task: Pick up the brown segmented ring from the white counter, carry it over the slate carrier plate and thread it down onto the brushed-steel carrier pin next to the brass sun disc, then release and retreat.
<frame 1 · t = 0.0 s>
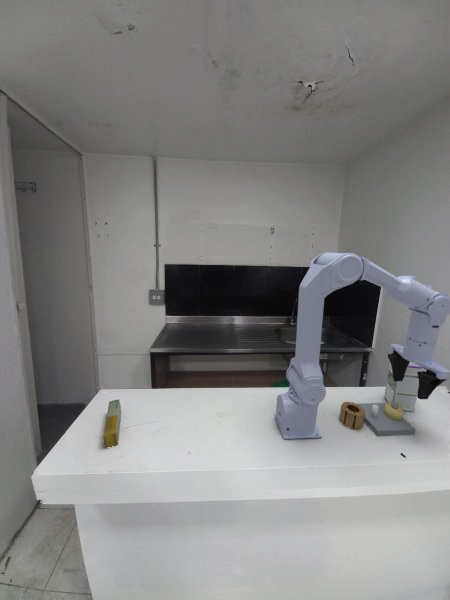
hand: (409, 388, 60), 10 cm above the countertop, fingers open, 7 cm apart
medication box: (114, 429, 57), on the countertop
syrup box: (397, 405, 69), on the countertop, touching gripper
carrier plate: (381, 420, 62), on the countertop
brown segmented ring: (350, 421, 62), on the countertop
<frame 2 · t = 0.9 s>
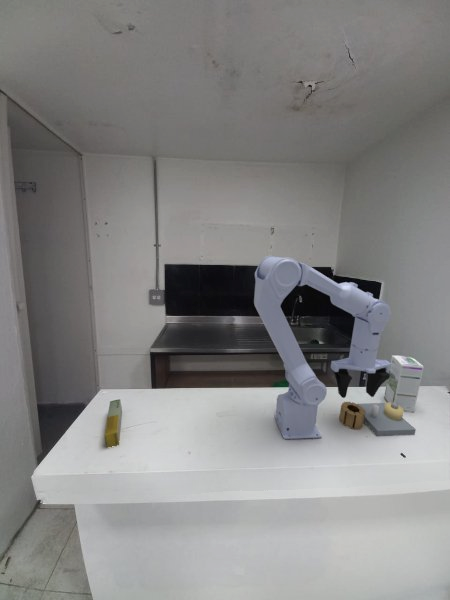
hand: (355, 394, 60), 8 cm above the countertop, fingers open, 7 cm apart
syrup box: (397, 405, 69), on the countertop
everything else where it was.
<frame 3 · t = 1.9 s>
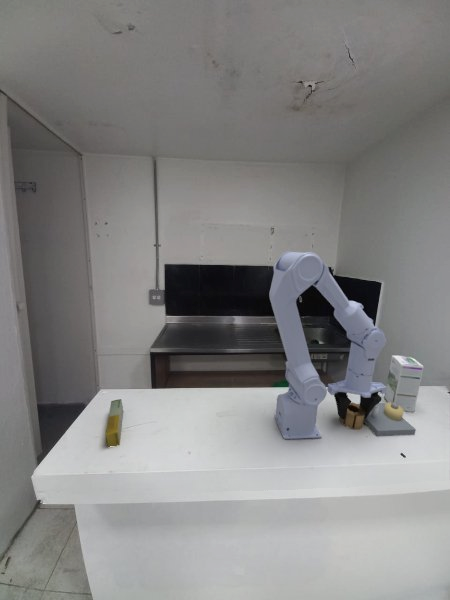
hand: (351, 416, 61), 2 cm above the countertop, fingers closed on brown segmented ring, 5 cm apart
brown segmented ring: (350, 421, 62), on the countertop, touching gripper
everything else where it was.
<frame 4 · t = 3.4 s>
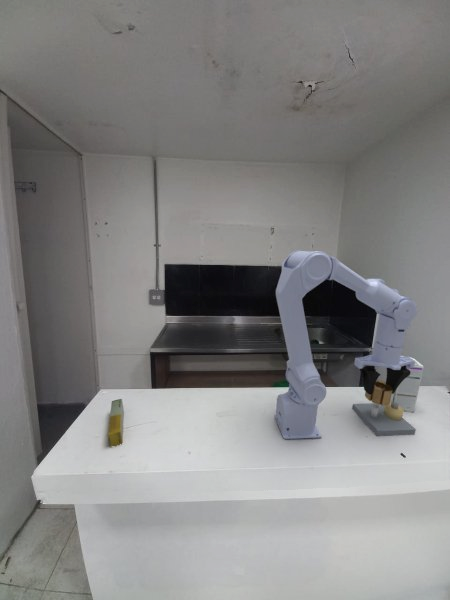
hand: (378, 391, 60), 9 cm above the countertop, fingers closed on brown segmented ring, 5 cm apart
brown segmented ring: (377, 398, 61), point 7 cm above the countertop, touching gripper
everything else where it was.
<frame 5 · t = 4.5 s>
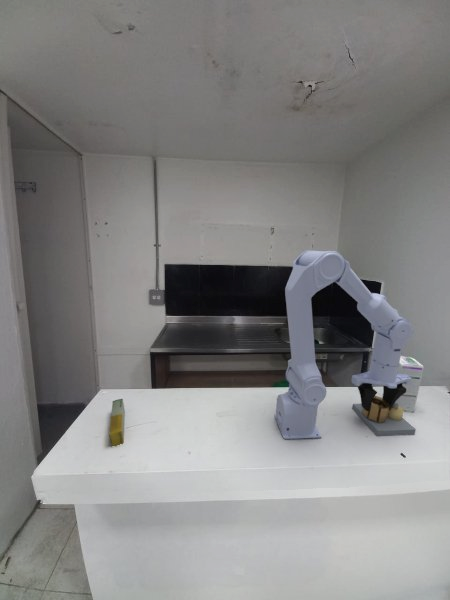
hand: (375, 408, 61), 4 cm above the countertop, fingers closed on brown segmented ring, 5 cm apart
brown segmented ring: (374, 414, 62), point 2 cm above the countertop, touching gripper
when the fingers open (4 cm above the countertop, at t = 4.9 s): brown segmented ring stays where it is, resting on carrier plate.
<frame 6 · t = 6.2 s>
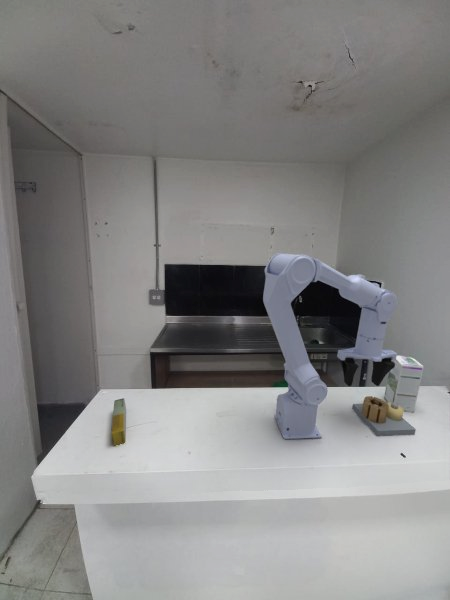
hand: (361, 383, 61), 10 cm above the countertop, fingers open, 7 cm apart
brown segmented ring: (373, 415, 62), point 1 cm above the countertop, touching carrier plate
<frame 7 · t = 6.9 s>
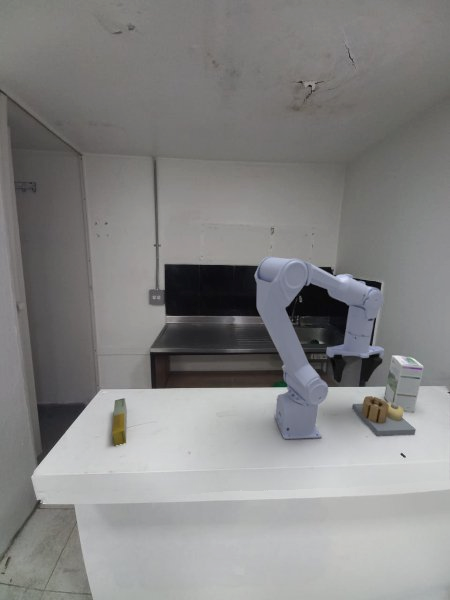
hand: (350, 380, 62), 10 cm above the countertop, fingers open, 7 cm apart
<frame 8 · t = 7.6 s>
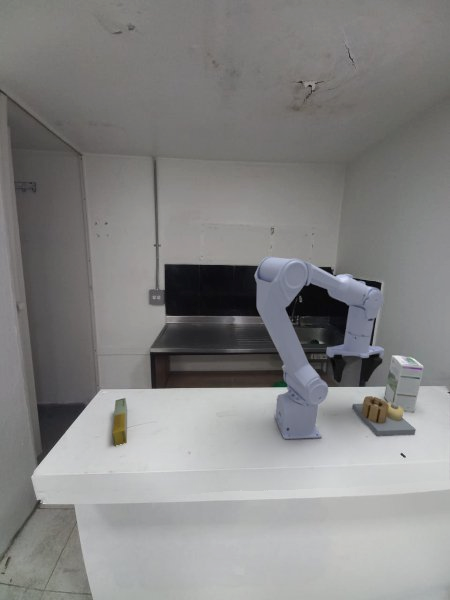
hand: (350, 380, 62), 10 cm above the countertop, fingers open, 7 cm apart
at the end: brown segmented ring 0.0 cm from the target spot on the carrier plate, point 1.5 cm above the carrier plate's base; brown segmented ring tilted 0°; the gripper is holding nothing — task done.
